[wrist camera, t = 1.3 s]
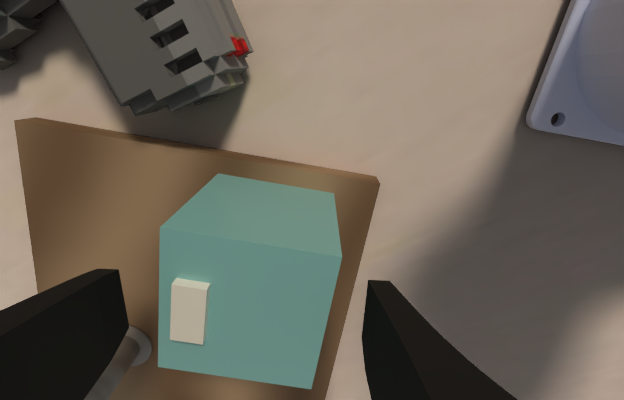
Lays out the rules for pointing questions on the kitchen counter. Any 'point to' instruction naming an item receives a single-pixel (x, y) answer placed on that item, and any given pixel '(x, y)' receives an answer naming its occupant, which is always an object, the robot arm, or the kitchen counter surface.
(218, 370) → the teal cube
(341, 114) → the kitchen counter surface
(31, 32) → the toy gun
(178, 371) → the board
